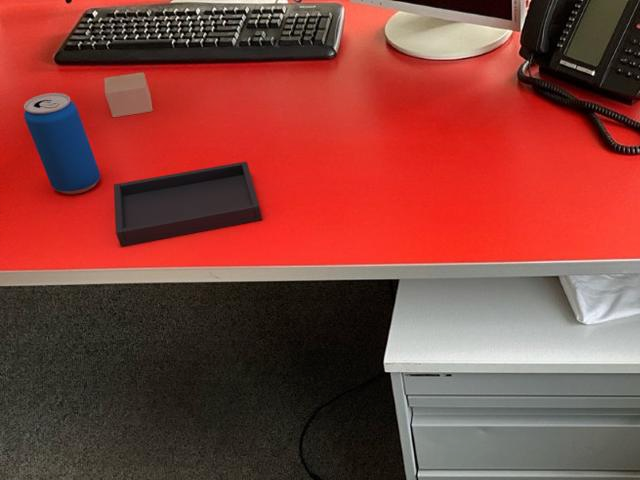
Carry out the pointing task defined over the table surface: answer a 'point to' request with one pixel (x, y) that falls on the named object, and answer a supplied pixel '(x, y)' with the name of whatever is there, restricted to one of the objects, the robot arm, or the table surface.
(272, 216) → the table surface
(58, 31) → the table surface
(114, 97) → the pad
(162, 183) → the tray
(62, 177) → the beverage can
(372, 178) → the table surface
